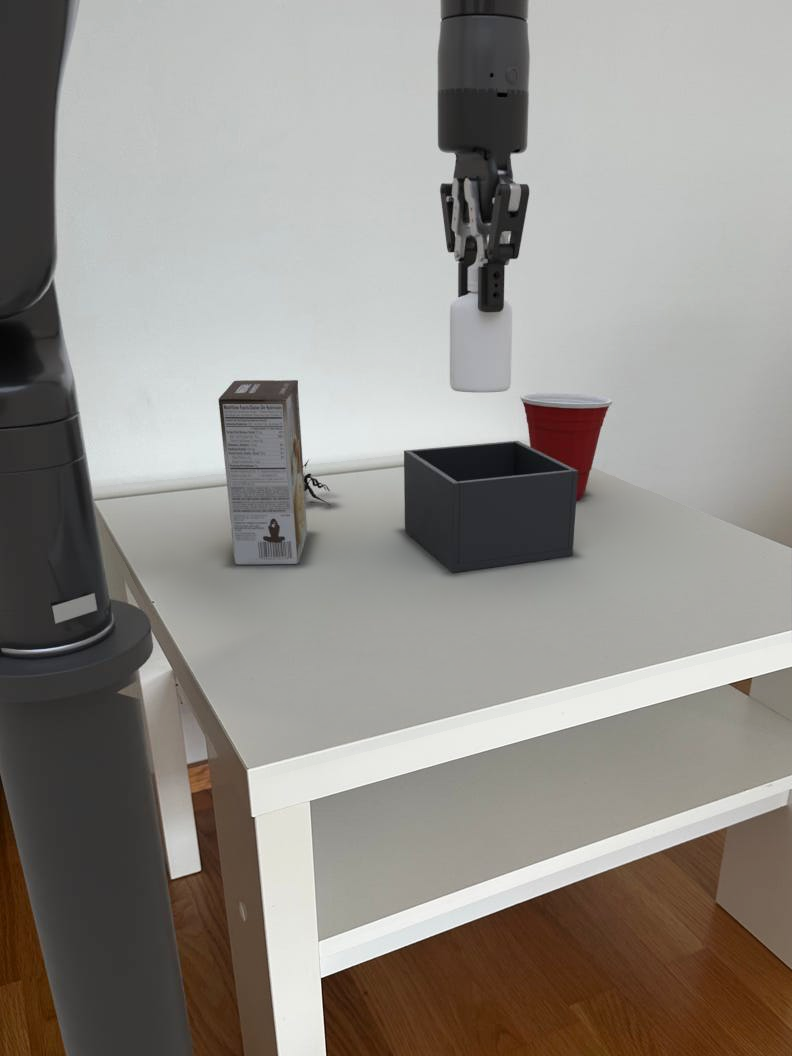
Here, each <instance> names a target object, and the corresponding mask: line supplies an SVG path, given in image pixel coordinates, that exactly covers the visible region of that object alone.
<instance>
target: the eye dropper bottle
mask: <svg viewBox="0 0 792 1056" xmlns="http://www.w3.org/2000/svg"><path fill="white" fill-rule="evenodd" d="M478 267H481V266H480V264H479V260H478V252H477V257H476V261H475V263H474V264H473V265H471V266H469V267H468V291H471V292H469V293H468V294H467V295H464V296H461V297H459V298H458V297H457V298H455V299H454V300H453V301H452V302H451V304H450V307H449V386H450V388H451V389H452V391H454V392H461V393H502V392H506V391H508V390H509V389H510V388H511V383H512V382H511V380H512V346H513V345H512V343H513V341H512V339H513V307H512V303H510V302H509V300H507V299H506V298H504V308H503V310H502V311H500V312H482V311H480V310H479V309H478Z"/></svg>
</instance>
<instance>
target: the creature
mask: <svg viewBox="0 0 792 1056" xmlns="http://www.w3.org/2000/svg"><path fill="white" fill-rule="evenodd" d="M309 461H310V459H308V460H307V461H306V462H305V464H303V468H304V470H306V469H307V468H306V467H307V465H308V462H309ZM305 473H306V471H303V474H305ZM308 479H309V480H308ZM310 482H311V484H312V486H313V487H317V488H318V489H322V488H323V489H324V490H325V491H328V492H331V489H329V487H328V485H326V484H323V483H322V482H319V480H318V479H317V478H314V477H312V473H310V472H309V473H307V474H305V475H304V490H305V492H306V491H308V492H309V494H310V496H311V497H312V498H314V499H316V500H319V501H321V502H322V504H323V505H326V504H327V505H329V506H331V504H330V503H329V502H327V501H325V500H324V499H322V498H321V497H319V496H318V495H317V494H315V492H314V491H313V489H312V487H311V486H310ZM314 503H315V504H316V503H317V504H320V502H318V501H317V502H316V501H310V504H314ZM305 505H307V503H306V502H305Z"/></svg>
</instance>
